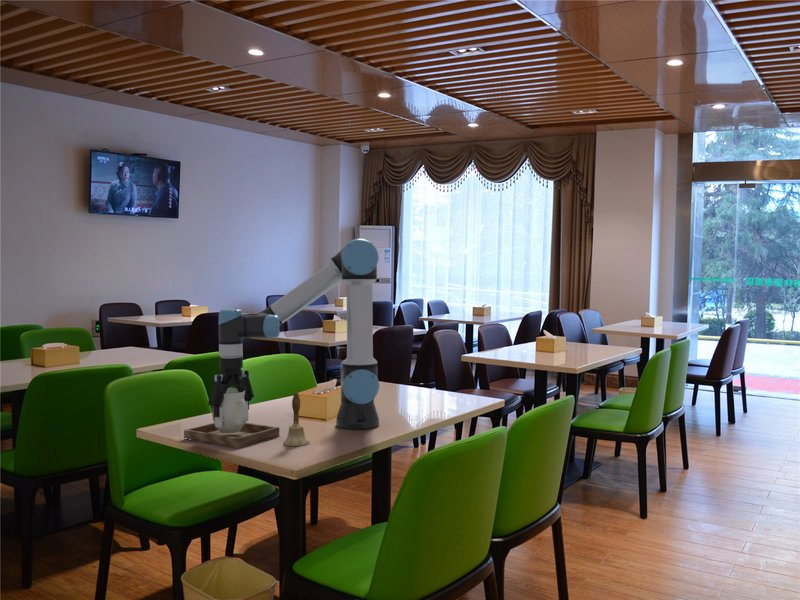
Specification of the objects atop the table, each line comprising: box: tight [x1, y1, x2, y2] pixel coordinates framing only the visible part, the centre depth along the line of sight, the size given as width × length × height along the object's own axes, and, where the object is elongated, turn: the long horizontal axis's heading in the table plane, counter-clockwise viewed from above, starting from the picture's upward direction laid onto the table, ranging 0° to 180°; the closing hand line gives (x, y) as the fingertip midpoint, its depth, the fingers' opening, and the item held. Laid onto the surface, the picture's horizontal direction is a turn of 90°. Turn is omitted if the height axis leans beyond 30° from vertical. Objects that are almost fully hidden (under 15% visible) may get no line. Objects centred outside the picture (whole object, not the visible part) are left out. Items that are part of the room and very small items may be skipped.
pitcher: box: [211, 387, 249, 433], centre depth 241 cm, size 11×18×14 cm, turn 46°
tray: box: [183, 422, 280, 449], centre depth 241 cm, size 24×19×3 cm
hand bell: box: [282, 392, 310, 447], centre depth 233 cm, size 8×8×16 cm
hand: (231, 423), depth 241 cm, fingers closed on pitcher, 11 cm apart
